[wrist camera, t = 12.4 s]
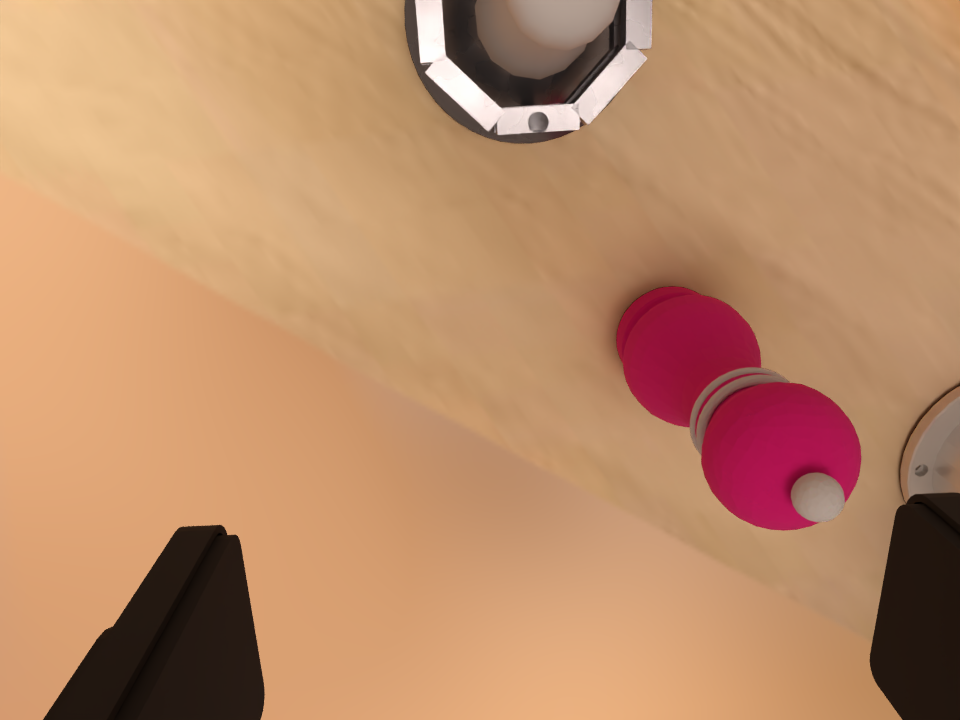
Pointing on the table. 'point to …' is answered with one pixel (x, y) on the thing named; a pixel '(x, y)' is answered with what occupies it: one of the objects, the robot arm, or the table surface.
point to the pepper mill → (739, 411)
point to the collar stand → (513, 99)
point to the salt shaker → (540, 32)
